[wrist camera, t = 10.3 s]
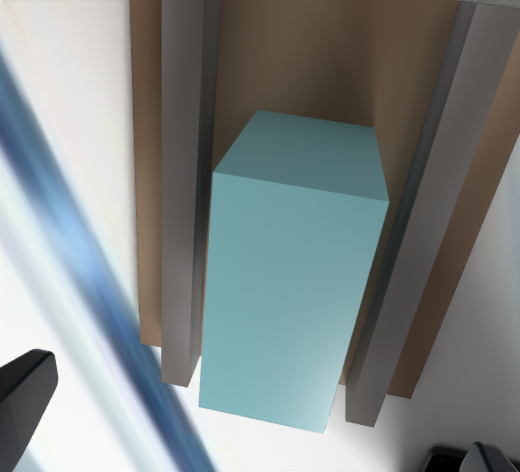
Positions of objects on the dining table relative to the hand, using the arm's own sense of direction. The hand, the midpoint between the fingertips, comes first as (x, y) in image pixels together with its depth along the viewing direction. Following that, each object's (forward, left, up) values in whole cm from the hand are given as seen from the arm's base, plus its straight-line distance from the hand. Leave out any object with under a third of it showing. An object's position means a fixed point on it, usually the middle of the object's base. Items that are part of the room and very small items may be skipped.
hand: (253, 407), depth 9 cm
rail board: (0, 0, -10) cm, 10 cm away
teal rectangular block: (0, 0, -9) cm, 9 cm away
